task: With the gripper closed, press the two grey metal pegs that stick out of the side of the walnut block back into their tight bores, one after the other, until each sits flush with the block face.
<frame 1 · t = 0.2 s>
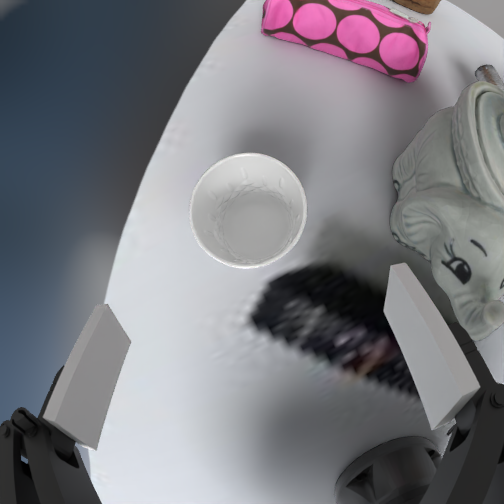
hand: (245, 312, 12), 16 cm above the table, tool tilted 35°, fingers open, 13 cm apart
pencil case: (339, 47, 29), on the table
block: (404, 2, 28), on the table
white cup: (258, 229, 28), on the table
teapot: (421, 225, 27), on the table
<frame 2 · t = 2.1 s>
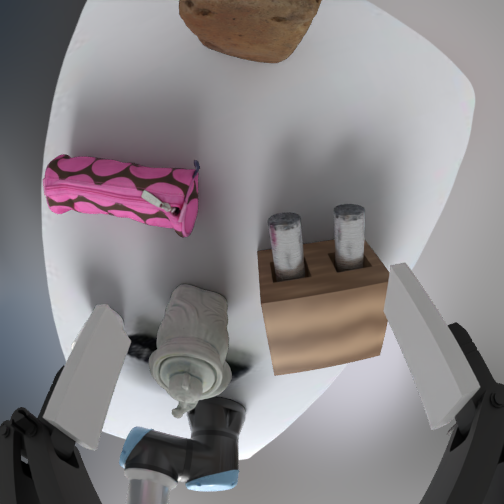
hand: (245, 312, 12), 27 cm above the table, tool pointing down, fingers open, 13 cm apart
pencil case: (131, 179, 36), on the table
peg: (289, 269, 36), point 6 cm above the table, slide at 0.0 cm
block: (247, 36, 27), on the table
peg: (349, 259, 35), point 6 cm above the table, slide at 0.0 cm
walnut block: (313, 281, 44), on the table
teapot: (197, 319, 48), on the table
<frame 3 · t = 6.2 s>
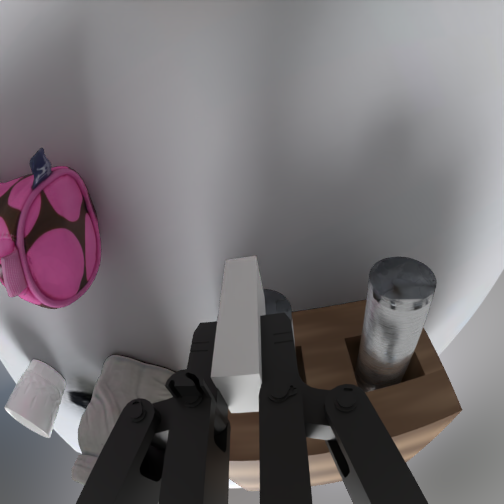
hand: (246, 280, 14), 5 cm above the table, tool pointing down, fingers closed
pencil case: (14, 205, 17), on the table
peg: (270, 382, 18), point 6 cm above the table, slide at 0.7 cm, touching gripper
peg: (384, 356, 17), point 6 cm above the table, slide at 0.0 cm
white cup: (49, 371, 31), on the table
walnut block: (315, 358, 26), on the table
teapot: (148, 390, 30), on the table
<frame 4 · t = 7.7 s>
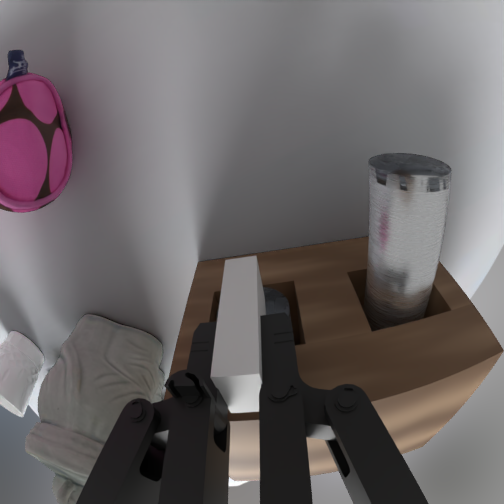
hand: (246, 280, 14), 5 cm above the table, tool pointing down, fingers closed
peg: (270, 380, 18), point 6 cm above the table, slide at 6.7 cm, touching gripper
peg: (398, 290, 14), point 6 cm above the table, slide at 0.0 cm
white cup: (27, 346, 28), on the table
walnut block: (314, 316, 23), on the table
teapot: (127, 362, 27), on the table
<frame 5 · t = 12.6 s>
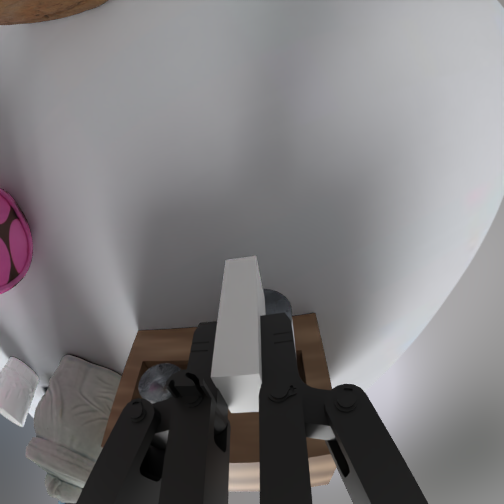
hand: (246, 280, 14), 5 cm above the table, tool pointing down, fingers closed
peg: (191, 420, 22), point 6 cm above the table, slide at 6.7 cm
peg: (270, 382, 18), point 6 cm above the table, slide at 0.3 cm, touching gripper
white cup: (24, 368, 32), on the table
walnut block: (237, 370, 27), on the table
teapot: (102, 388, 31), on the table
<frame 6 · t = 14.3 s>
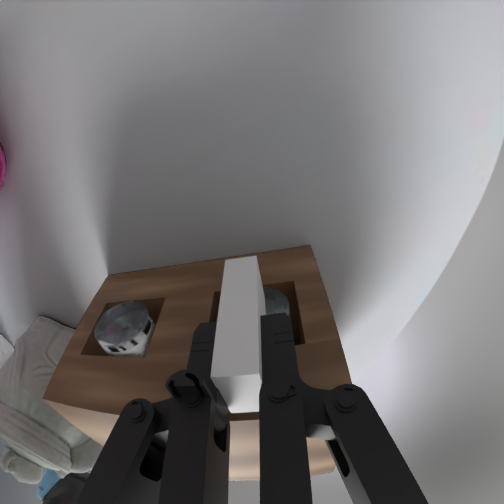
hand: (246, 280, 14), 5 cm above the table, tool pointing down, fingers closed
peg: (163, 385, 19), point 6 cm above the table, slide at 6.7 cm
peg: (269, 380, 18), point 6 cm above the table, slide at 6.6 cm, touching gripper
white cup: (3, 342, 29), on the table
walnut block: (221, 328, 23), on the table
teapot: (78, 360, 28), on the table
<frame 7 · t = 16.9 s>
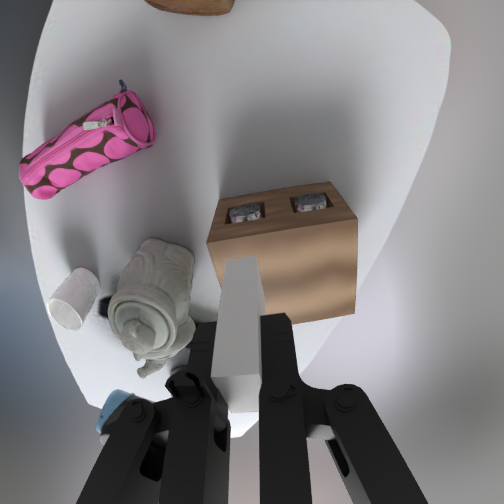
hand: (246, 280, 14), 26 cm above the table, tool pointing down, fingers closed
pencil case: (95, 140, 34), on the table
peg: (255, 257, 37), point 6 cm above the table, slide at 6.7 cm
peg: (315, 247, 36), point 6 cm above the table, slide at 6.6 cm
white cup: (86, 280, 48), on the table
walnut block: (281, 233, 42), on the table
teapot: (167, 277, 47), on the table
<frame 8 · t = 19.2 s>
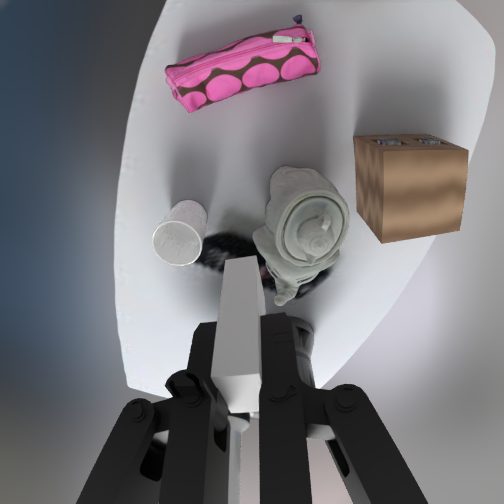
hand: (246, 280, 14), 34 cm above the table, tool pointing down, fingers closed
pencil case: (242, 67, 36), on the table
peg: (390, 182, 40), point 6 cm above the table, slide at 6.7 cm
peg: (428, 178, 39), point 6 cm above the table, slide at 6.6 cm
white cup: (189, 216, 50), on the table
walnut block: (394, 171, 45), on the table
teapot: (289, 209, 49), on the table
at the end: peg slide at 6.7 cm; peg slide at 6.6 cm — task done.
